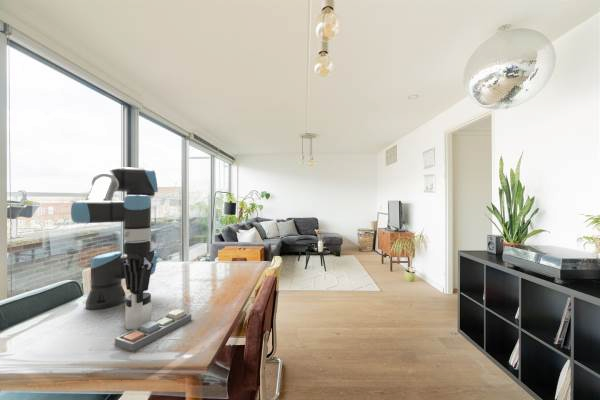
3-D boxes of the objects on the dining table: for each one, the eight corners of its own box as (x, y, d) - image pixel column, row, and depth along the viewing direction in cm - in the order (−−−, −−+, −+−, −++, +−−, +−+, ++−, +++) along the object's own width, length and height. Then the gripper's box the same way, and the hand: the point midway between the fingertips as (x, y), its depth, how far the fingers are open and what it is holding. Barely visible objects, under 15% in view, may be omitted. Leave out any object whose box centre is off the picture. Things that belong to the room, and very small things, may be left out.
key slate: (139, 331, 88) (139, 325, 88) (151, 326, 91) (151, 320, 91) (147, 334, 86) (147, 328, 86) (159, 328, 90) (159, 322, 90)
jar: (120, 334, 92) (120, 301, 92) (129, 324, 100) (129, 293, 100) (147, 331, 94) (147, 299, 94) (154, 321, 102) (155, 291, 102)
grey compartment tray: (112, 348, 83) (112, 337, 83) (173, 319, 104) (173, 310, 104) (134, 356, 78) (134, 345, 78) (193, 324, 99) (193, 314, 99)
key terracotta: (123, 343, 82) (123, 336, 82) (135, 336, 86) (135, 330, 86) (131, 345, 81) (131, 339, 81) (144, 339, 85) (144, 333, 85)
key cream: (167, 318, 98) (167, 313, 98) (176, 314, 101) (177, 308, 101) (175, 320, 96) (175, 315, 96) (184, 315, 100) (184, 310, 100)
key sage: (154, 327, 93) (154, 322, 93) (164, 322, 96) (164, 317, 96) (162, 330, 91) (162, 324, 91) (172, 324, 95) (172, 319, 95)
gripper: (113, 241, 84) (113, 312, 84) (138, 244, 79) (138, 320, 79) (136, 238, 91) (135, 304, 91) (161, 240, 86) (160, 310, 85)
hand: (137, 311), depth 85 cm, fingers closed
